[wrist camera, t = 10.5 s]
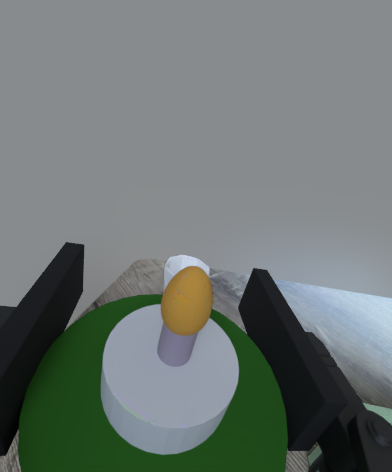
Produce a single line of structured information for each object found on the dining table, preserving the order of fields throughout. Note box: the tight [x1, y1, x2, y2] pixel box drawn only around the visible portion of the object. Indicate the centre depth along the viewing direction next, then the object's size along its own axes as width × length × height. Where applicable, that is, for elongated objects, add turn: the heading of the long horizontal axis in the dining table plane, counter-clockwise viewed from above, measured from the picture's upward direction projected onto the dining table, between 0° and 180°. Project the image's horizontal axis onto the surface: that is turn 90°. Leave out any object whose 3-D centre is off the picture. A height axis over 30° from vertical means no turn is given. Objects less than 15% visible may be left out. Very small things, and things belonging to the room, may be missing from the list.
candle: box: [18, 266, 288, 472], centre depth 9 cm, size 8×8×10 cm
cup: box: [164, 255, 210, 290], centre depth 39 cm, size 7×10×8 cm
